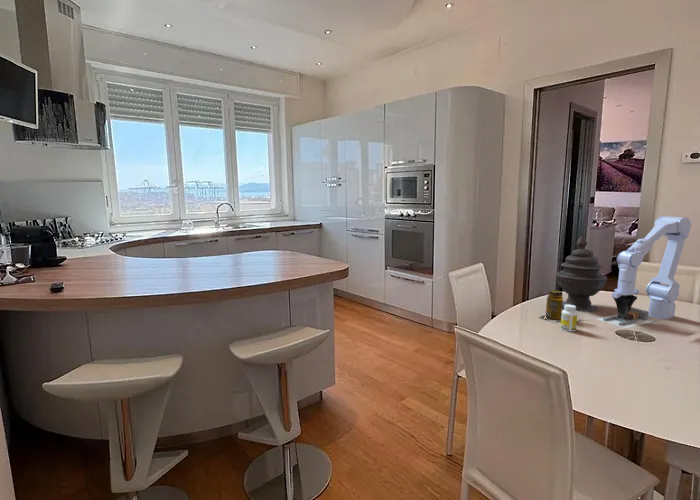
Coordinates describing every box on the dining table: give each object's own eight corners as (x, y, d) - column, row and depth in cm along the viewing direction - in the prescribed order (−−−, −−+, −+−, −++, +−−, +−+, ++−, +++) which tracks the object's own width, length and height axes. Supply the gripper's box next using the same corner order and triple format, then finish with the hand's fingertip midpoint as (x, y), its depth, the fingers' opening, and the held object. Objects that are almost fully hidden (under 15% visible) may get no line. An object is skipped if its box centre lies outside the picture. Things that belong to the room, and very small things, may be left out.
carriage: (623, 317, 161) (625, 302, 160) (634, 320, 157) (636, 305, 156) (614, 319, 158) (616, 304, 157) (625, 322, 154) (627, 307, 153)
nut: (629, 316, 162) (630, 309, 162) (640, 319, 159) (641, 312, 158) (624, 317, 161) (624, 310, 160) (634, 320, 157) (635, 313, 157)
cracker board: (624, 315, 167) (625, 305, 167) (655, 324, 157) (656, 312, 156) (595, 322, 159) (596, 310, 159) (625, 331, 149) (626, 319, 148)
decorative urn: (615, 316, 164) (616, 235, 161) (564, 317, 168) (564, 238, 165) (594, 305, 184) (594, 233, 181) (549, 305, 188) (548, 235, 185)
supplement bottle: (574, 328, 153) (576, 304, 151) (577, 332, 148) (579, 308, 146) (559, 326, 155) (561, 303, 153) (561, 331, 150) (563, 307, 148)
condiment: (565, 319, 164) (567, 292, 162) (554, 322, 159) (557, 295, 157) (548, 314, 170) (551, 288, 168) (538, 317, 165) (540, 291, 163)
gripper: (627, 276, 161) (623, 307, 163) (605, 280, 155) (602, 312, 157) (645, 280, 154) (642, 312, 157) (623, 284, 149) (620, 317, 151)
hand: (623, 312), depth 156 cm, fingers closed on carriage, 2 cm apart
